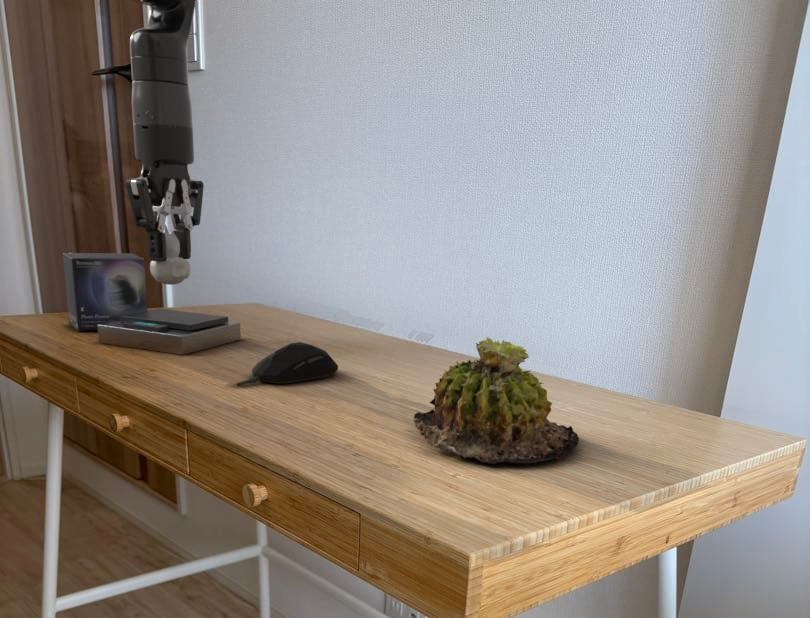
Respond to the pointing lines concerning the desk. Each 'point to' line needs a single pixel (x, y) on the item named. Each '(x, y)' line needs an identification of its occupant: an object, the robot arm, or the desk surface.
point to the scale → (167, 336)
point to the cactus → (494, 411)
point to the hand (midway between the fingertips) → (170, 259)
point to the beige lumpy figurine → (170, 263)
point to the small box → (103, 287)
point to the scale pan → (175, 319)
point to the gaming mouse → (293, 365)
